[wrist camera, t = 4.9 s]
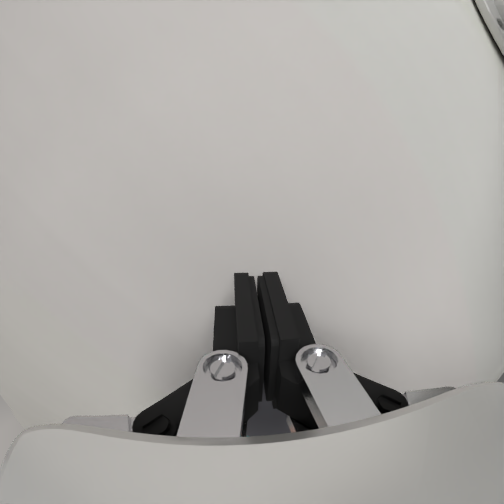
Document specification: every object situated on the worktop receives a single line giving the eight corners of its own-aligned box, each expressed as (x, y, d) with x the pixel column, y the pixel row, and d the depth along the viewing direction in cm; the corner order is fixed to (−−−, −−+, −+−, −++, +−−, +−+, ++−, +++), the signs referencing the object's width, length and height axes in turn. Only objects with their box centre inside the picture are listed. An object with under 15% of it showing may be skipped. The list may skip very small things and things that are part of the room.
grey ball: (197, 342, 10) (208, 461, 9) (343, 335, 10) (336, 451, 9) (213, 324, 15) (218, 411, 14) (310, 320, 15) (309, 406, 14)
